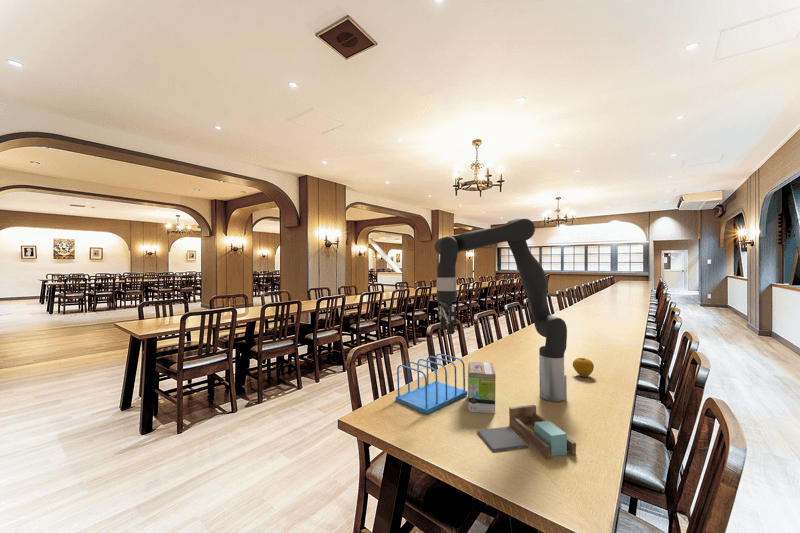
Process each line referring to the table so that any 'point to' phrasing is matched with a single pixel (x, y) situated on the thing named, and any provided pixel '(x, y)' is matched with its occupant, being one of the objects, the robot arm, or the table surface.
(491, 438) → the felt mat
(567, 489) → the table surface
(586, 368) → the apple
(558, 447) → the teal blank
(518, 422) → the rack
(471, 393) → the tea box
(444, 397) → the file sorter
